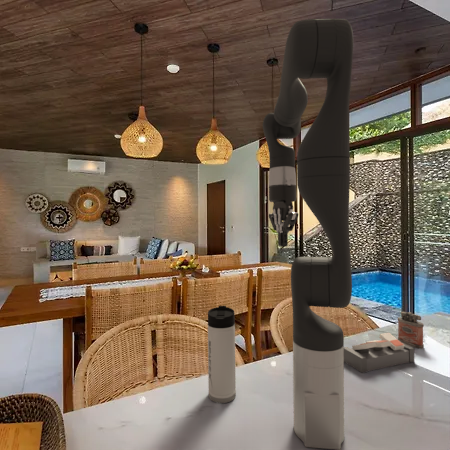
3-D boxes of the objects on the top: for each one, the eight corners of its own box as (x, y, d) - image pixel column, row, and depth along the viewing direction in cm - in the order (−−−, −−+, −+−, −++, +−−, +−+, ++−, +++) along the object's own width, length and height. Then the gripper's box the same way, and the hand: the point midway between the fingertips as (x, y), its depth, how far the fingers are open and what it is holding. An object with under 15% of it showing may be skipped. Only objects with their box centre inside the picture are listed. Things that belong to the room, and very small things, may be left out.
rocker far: (387, 335, 92) (389, 332, 92) (403, 348, 87) (404, 344, 87) (379, 337, 91) (380, 333, 91) (394, 350, 86) (395, 346, 86)
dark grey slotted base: (392, 351, 94) (391, 338, 94) (414, 361, 87) (414, 347, 87) (342, 360, 88) (342, 346, 88) (362, 372, 81) (361, 357, 81)
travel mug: (236, 388, 74) (235, 305, 74) (234, 404, 68) (233, 313, 67) (210, 387, 75) (209, 305, 75) (206, 403, 68) (205, 313, 68)
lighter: (395, 340, 102) (395, 310, 102) (402, 338, 104) (401, 309, 103) (419, 349, 95) (419, 317, 95) (426, 347, 96) (426, 315, 96)
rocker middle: (375, 344, 90) (374, 339, 91) (391, 345, 85) (389, 340, 86) (366, 346, 89) (365, 341, 89) (381, 347, 84) (380, 342, 84)
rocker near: (362, 348, 88) (361, 343, 89) (376, 346, 84) (374, 341, 84) (353, 350, 87) (351, 345, 88) (366, 348, 82) (365, 343, 83)
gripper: (259, 187, 91) (260, 245, 92) (282, 181, 79) (283, 248, 79) (282, 187, 94) (282, 244, 94) (307, 182, 81) (308, 247, 82)
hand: (282, 246), depth 87 cm, fingers closed
